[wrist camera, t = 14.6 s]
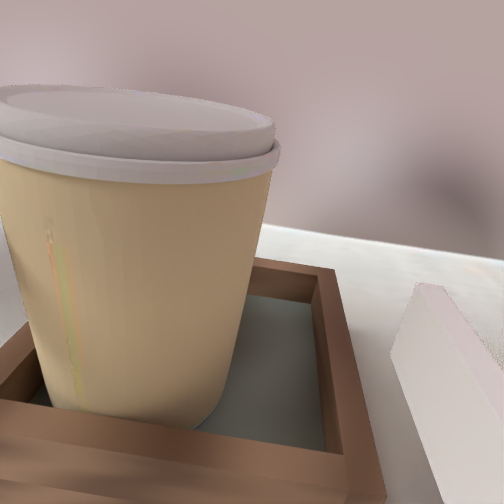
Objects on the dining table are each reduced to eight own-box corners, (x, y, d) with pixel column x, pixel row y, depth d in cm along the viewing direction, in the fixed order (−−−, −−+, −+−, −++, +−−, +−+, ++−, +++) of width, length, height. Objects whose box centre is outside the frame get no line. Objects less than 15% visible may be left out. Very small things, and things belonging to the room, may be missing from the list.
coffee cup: (169, 297, 24) (177, 90, 18) (282, 388, 18) (340, 130, 13) (-3, 362, 17) (-68, 75, 12) (89, 533, 12) (44, 140, 6)
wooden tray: (-37, 518, 14) (-74, 420, 12) (118, 303, 28) (115, 235, 25) (344, 583, 14) (386, 496, 12) (317, 334, 27) (334, 269, 25)
